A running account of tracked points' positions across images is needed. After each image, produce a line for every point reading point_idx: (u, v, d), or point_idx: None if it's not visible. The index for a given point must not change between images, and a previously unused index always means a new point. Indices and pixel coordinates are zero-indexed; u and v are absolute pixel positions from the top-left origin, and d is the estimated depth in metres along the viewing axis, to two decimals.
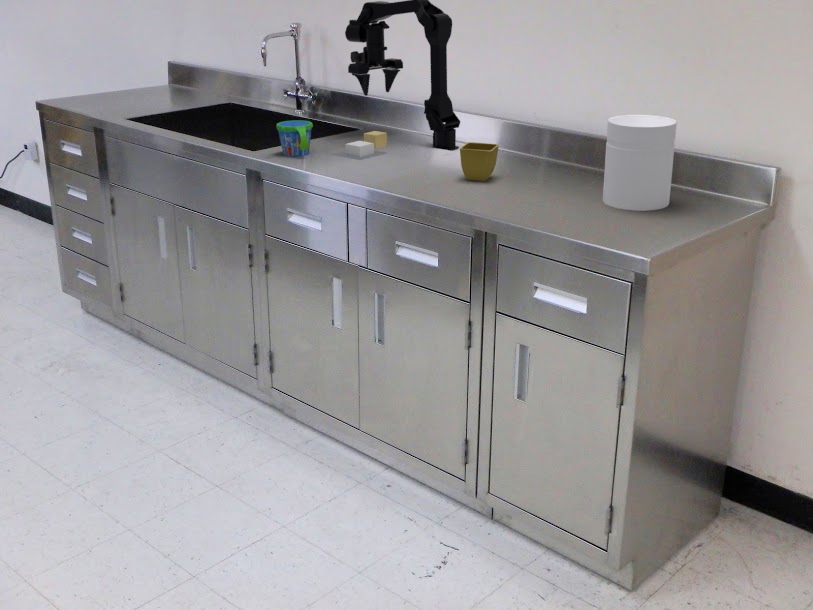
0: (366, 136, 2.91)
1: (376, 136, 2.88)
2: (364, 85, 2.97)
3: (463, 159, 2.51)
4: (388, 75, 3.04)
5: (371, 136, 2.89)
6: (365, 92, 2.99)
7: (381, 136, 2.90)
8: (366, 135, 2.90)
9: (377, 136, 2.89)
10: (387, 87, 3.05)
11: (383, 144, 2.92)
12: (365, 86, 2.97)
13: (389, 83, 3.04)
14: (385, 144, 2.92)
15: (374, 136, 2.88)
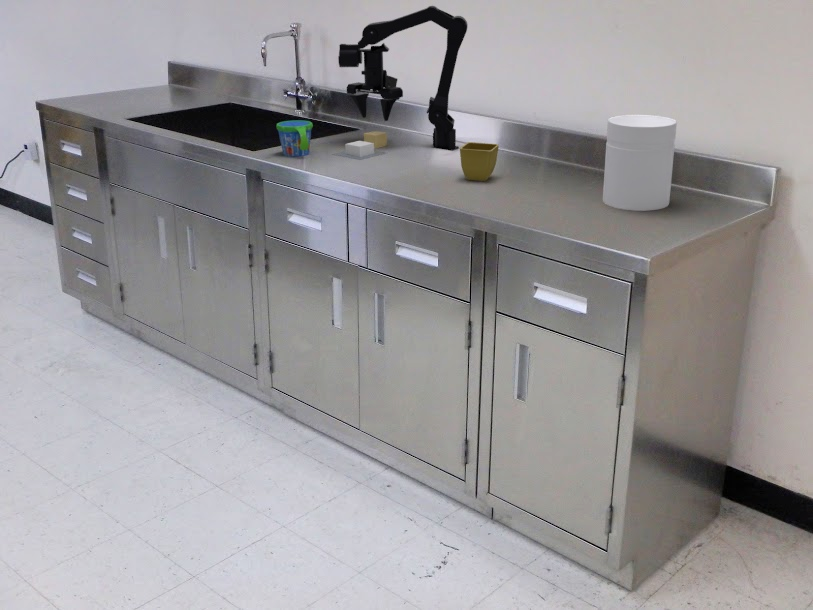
0: (366, 136, 2.91)
1: (376, 136, 2.88)
2: None
3: (463, 159, 2.51)
4: None
5: (371, 136, 2.89)
6: None
7: (381, 136, 2.90)
8: (366, 135, 2.90)
9: (377, 136, 2.89)
10: None
11: (383, 144, 2.92)
12: None
13: None
14: (385, 144, 2.92)
15: (374, 136, 2.88)
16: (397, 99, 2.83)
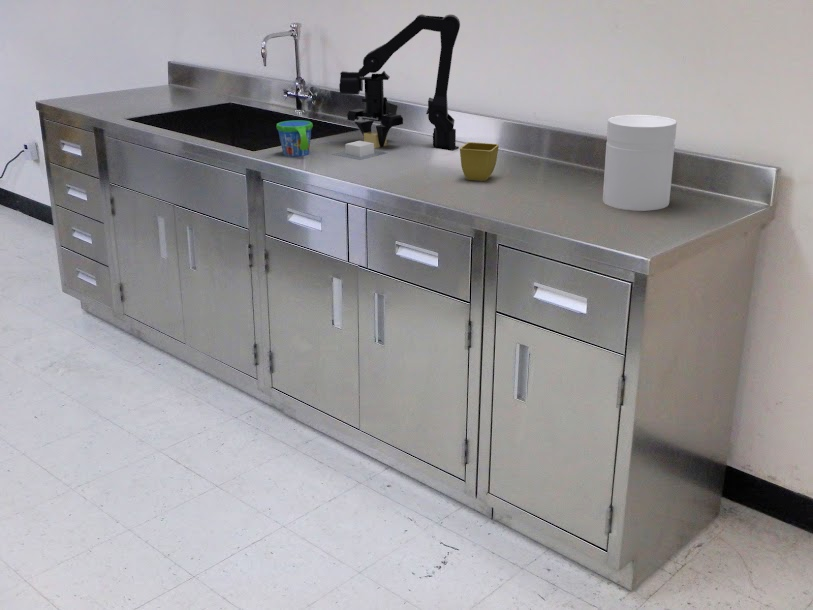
0: (366, 136, 2.91)
1: (376, 136, 2.88)
2: None
3: (463, 159, 2.51)
4: None
5: (371, 136, 2.89)
6: None
7: None
8: (366, 135, 2.90)
9: (377, 136, 2.89)
10: None
11: None
12: None
13: None
14: (385, 144, 2.92)
15: (374, 136, 2.88)
16: None
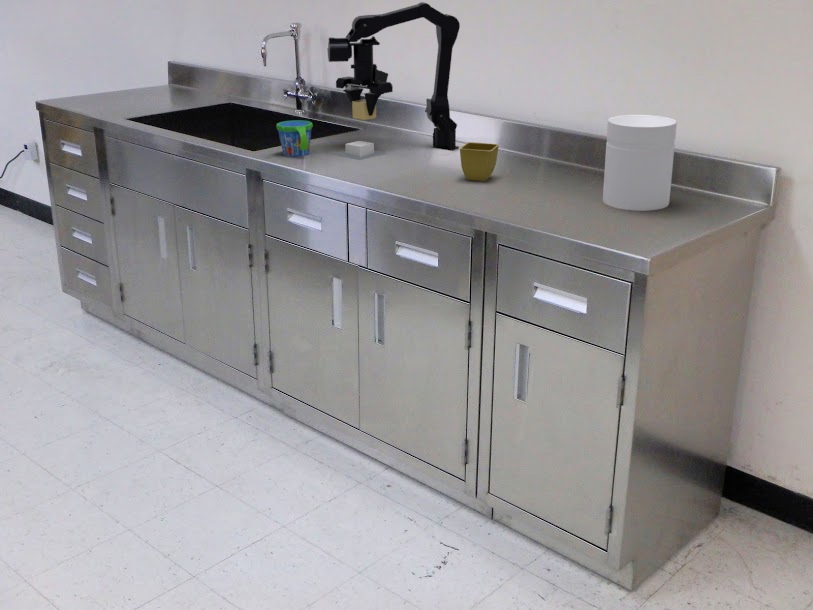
0: (355, 104, 2.81)
1: (365, 104, 2.79)
2: None
3: (463, 159, 2.51)
4: None
5: (360, 104, 2.79)
6: None
7: None
8: (355, 103, 2.81)
9: (366, 104, 2.79)
10: None
11: None
12: None
13: None
14: (374, 113, 2.82)
15: (363, 104, 2.79)
16: (382, 93, 2.78)
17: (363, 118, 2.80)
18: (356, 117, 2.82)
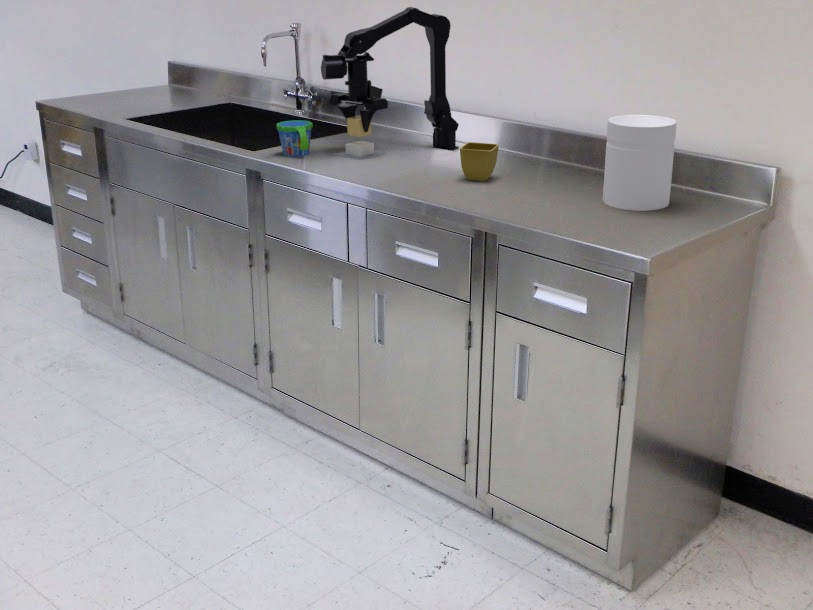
0: (349, 121, 2.78)
1: (360, 121, 2.76)
2: None
3: (463, 159, 2.51)
4: None
5: (355, 120, 2.77)
6: None
7: None
8: (349, 119, 2.78)
9: (361, 120, 2.76)
10: None
11: None
12: None
13: None
14: (370, 129, 2.80)
15: (358, 120, 2.76)
16: None
17: (358, 135, 2.77)
18: (351, 134, 2.79)
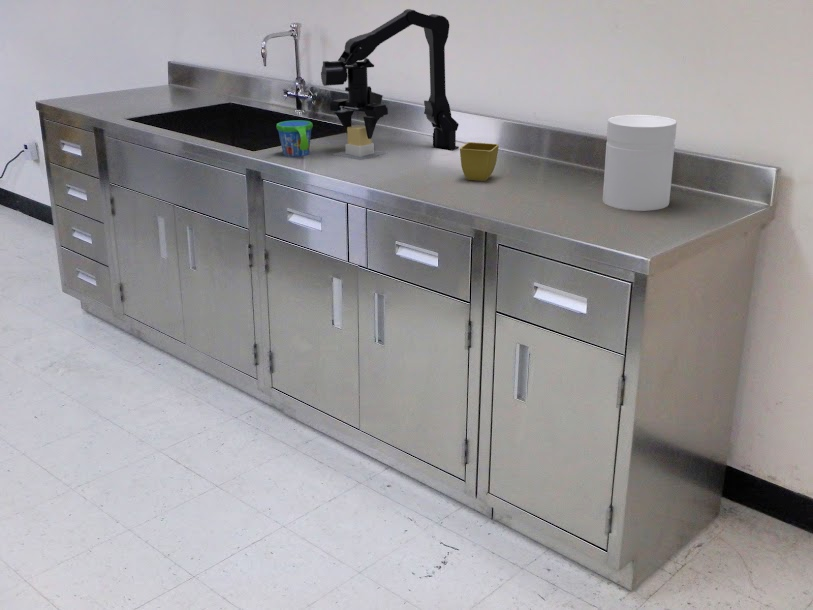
0: (350, 130, 2.79)
1: (360, 130, 2.77)
2: None
3: (463, 159, 2.51)
4: None
5: (355, 130, 2.78)
6: None
7: (365, 130, 2.78)
8: (350, 129, 2.79)
9: (361, 130, 2.77)
10: None
11: (367, 138, 2.80)
12: None
13: None
14: None
15: (358, 130, 2.77)
16: (381, 116, 2.75)
17: (358, 144, 2.78)
18: (351, 143, 2.80)
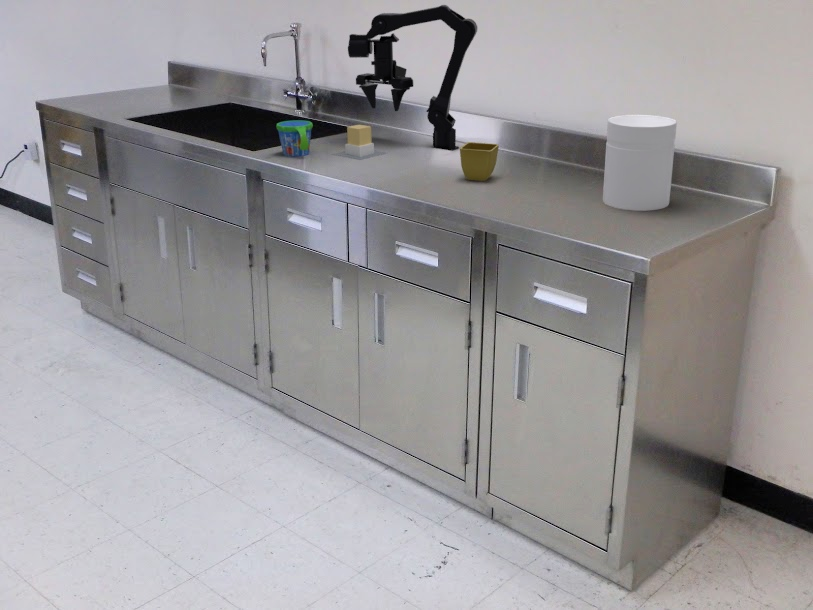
0: (350, 130, 2.79)
1: (360, 130, 2.77)
2: None
3: (463, 159, 2.51)
4: None
5: (355, 130, 2.78)
6: None
7: (365, 130, 2.78)
8: (350, 129, 2.79)
9: (361, 130, 2.77)
10: None
11: (367, 138, 2.80)
12: None
13: None
14: (370, 138, 2.81)
15: (358, 130, 2.77)
16: (407, 89, 2.84)
17: (358, 144, 2.78)
18: (351, 143, 2.80)
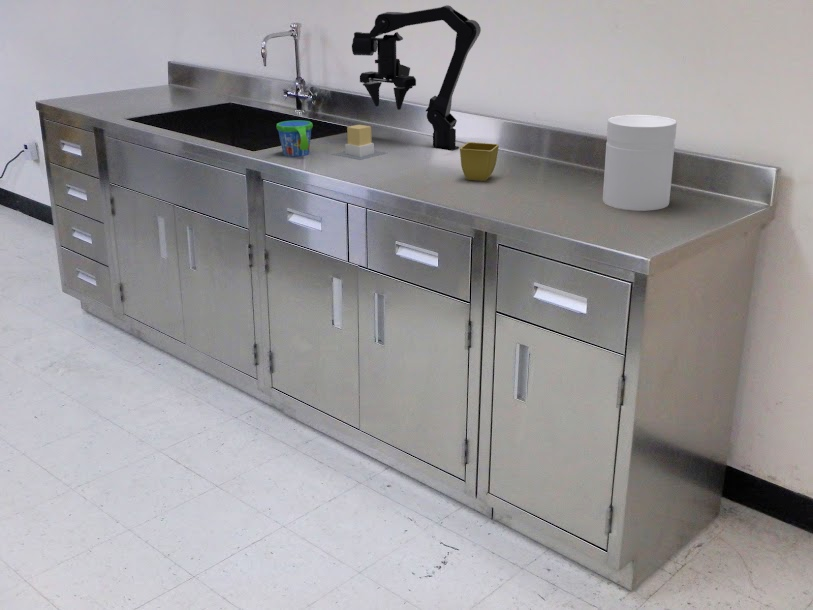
0: (350, 130, 2.79)
1: (360, 130, 2.77)
2: None
3: (463, 159, 2.51)
4: None
5: (355, 130, 2.78)
6: None
7: (365, 130, 2.78)
8: (350, 129, 2.79)
9: (361, 130, 2.77)
10: None
11: (367, 138, 2.80)
12: None
13: None
14: (370, 138, 2.81)
15: (358, 130, 2.77)
16: (410, 88, 2.85)
17: (358, 144, 2.78)
18: (351, 143, 2.80)
